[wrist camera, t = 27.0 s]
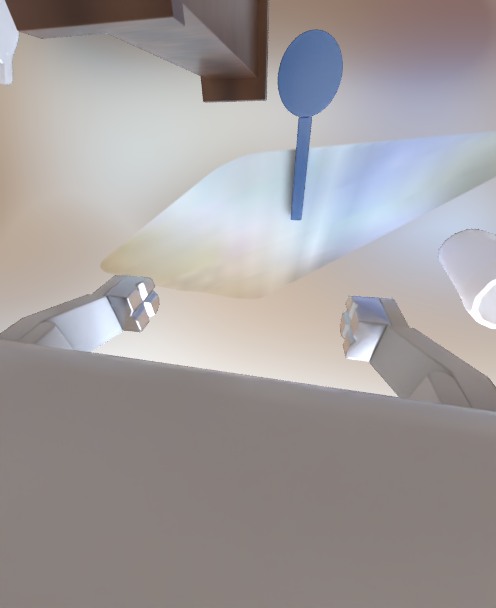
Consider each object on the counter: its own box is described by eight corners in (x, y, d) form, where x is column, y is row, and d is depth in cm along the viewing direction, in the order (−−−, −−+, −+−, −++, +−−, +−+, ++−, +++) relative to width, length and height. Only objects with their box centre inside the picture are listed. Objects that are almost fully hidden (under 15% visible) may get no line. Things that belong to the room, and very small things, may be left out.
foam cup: (430, 282, 40) (473, 337, 30) (421, 236, 36) (468, 281, 26) (503, 261, 36) (581, 316, 26) (503, 206, 32) (597, 245, 22)
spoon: (274, 216, 38) (273, 220, 36) (280, 38, 26) (279, 33, 24) (318, 217, 37) (319, 221, 35) (346, 31, 25) (349, 25, 23)
